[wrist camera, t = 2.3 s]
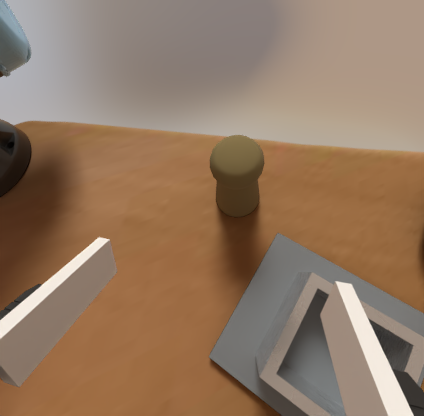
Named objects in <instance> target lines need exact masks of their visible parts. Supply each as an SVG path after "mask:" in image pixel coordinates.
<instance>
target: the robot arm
mask: <svg viewBox="0 0 424 416" xmlns="http://www.w3.org/2000/svg"><path fill="white" fill-rule="evenodd" d="M30 57H31V48H30V44H29V41H28V39H27V37H26V35H25V33H24V31H23V29H22V27H21V25H20V24H19V22H18V20H17V19H16V17H15V15H14V14H13V12H12V10H11V9H10V7H9V6H8V4H7V3H6V1H5V0H0V77H2V76H9V75H10V72H11V71H13V70H15V69H16V68H18V67H20V66H22V65H23V64H25V63H27V62H28V61H29V59H30ZM30 154H31V145H30V141H29V139H28V137H27V136H26V134H25V133H24V132H22V131H21V130H19V129H18V128H16V127H15V126H13V125H12V124H10V123H8V122H6V121H4V120H1V119H0V196H2V195H3V194H5V193H6V192H7V191H8V190H10V189H11V188H12V187H13V186H14V185H15V184H16V183H17V181H18V180H19V179H20V178H21V176H22V175H23V173H24V171H25V170H26V167H27V165H28V163H29V159H30ZM116 273H117V268H116V264H115V259H114V255H113V251H112V247H111V243H110V239H105V238H98V239H96V240H95V241H94V242H93V243H92V244H91V245H89V246H88V247H87V248H86V249H85V250H83V251H82V252H81V253H80V254H79V255H77V256H76V257H75V258H74V259H73V260H71V261H70V262H69V263H68V264H67V265H66V266H64V267H63V268H62V269H61V270H60V271H58V272H57V273H56V274H55V275H54V276H52V277H51V278H50V279H49V280H48V281H46V282H45V283H44V284H43V285H41V284H38V285H36V286H34V287H32V288H30V289H29V290H27V291H25V292H24V293H23V294H22V295H20V296H19V297H18V298H17V299H15V300H14V302H12V303H10V304H9V305H8V306H7V307H5V309H4V310H2V311H0V378H1V379H2V380H3V381H4V382H5V383H8V384H11V385H14V386H17V387H20V386H21V385H22V384H23V382H24V381H25V380H26V379H27V378H28V377H29V375H30V374H31V373H32V372H33V371H34V369H35V368H36V367H37V366H38V365H39V364H40V362H41V361H42V360H43V359H44V358H45V357H46V355H47V354H48V353H49V352H50V351H51V349H52V348H53V347H54V346H55V345H56V344H57V342H58V341H59V340H60V339H61V338H62V336H63V335H64V334H65V333H66V332H67V331H68V329H69V328H70V327H71V326H72V325H73V323H74V322H75V321H76V320H77V319H78V318H79V316H80V315H81V314H82V313H83V312H84V311H85V309H86V308H87V307H88V306H89V305H90V303H91V302H92V301H93V300H94V299H95V298H96V296H97V295H98V294H99V293H100V292H101V290H102V289H103V288H104V287H105V286H106V285H107V283H108V282H109V281H110V280H111V279H112V278H113V276H114V275H115V274H116ZM320 317H321V320H322V324H323V328H324V332H325V336H326V340H327V344H328V347H329V351H330V355H331V359H332V363H333V367H334V371H335V374H336V378H337V382H338V386H339V390H340V394H341V398H342V401H343V405H344V409H345V413H346V416H424V392H423V390H422V389H421V388H420V387H419V386H418V384H417V383H416V382H415V381H414V380H413V379H412V377H411V376H410V375H409V374H408V373H407V372H403V371H399V370H395V369H391V366H390V364H389V362H388V360H387V358H386V356H385V354H384V352H383V350H382V347H381V345H380V343H379V341H378V339H377V337H376V335H375V333H374V330H373V328H372V326H371V324H370V322H369V320H368V318H367V316H366V314H365V311H364V309H363V307H362V305H361V303H360V301H359V299H358V297H357V295H356V292H355V290H354V288H353V286H352V284H349V283H343V282H338V281H335V283H334V285H333V287H332V290H331V292H330V294H329V296H328V299H327V301H326V303H325V305H324V307H323V310H322V312H321V314H320Z"/></svg>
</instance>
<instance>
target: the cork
mask: <svg viewBox="0 0 424 416" xmlns="http://www.w3.org/2000/svg"><path fill="white" fill-rule="evenodd" d="M263 166H264V155H263V152H262V150H261V148H260V146H259V145H258V144H257V143H256V142H255V141H254V140H252V139H250V138H248V137H246V136H242V135H234V136H229V137H227V138H224V139H223V140H222V141H220V142H219V143H218V144H217V145H216V146H215V148H214V149H213V151H212V154H211V157H210V169H211V171H212V174H213V177H214V178H215V179H216V180H217V186H216V202H217V204H218V207H219V208H220V209H221V211H222V212H224V213H225V214H227V215H229V216H233V217H243V216H246V215H248V214H250V213H251V212H252V211H254V210H255V208H256V207H257V205H258V202H259V188H258V178H259V176H260V175H261V174H262V170H263Z"/></svg>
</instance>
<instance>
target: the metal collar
mask: <svg viewBox="0 0 424 416" xmlns="http://www.w3.org/2000/svg"><path fill="white" fill-rule="evenodd" d="M332 287H333V284H332V283H330V282H328V281H327V280H325V279H323V278H321V277H320V276H318V275H316V274H315V273H313V272H298V273H297V275H296V277H295V279H294V281H293V283H292V284H291V286H290V288H289V290H288V292H287V294H286V296H285V298H284V300H283V302H282V304H281V306H280V308H279V310H278V312H277V314H276V316H275V318H274V319H273V321H272V323H271V325H270V327H269V329H268V331H267V333H266V335H265V337H264V339H263V341H262V343H261V345H260V347H259V349H258V351H257V353H256V355H255V357H256V362H257V367H258V372H259V377H260V378H261V379H262V380H264V381H265V382H266V383H268V384H269V385H270V386H272V387H273V388H274V389H275V390H277V391H278V392H279V393H281V394H282V395H283V396H284V397H286V398H287V399H288V400H290V401H291V402H292V403H294V404H295V405H296V406H297V407H299V408H300V409H301V410H303V411H304V412H305V413H306V414H308V415H309V416H346V413H345V409H344V407H342V406H341V405H340V404H338V403H337V402H336V401H334V400H333V399H331V398H330V397H329V396H327V395H326V394H325V393H323V392H322V391H321V390H319V389H318V388H316V387H315V386H314V385H312V384H311V383H310V382H308V381H307V380H305V379H304V378H303V377H301V376H300V375H299V374H297V373H296V372H295V371H293V370H292V369H290V368H289V367H288V366H286V365H285V364H284V363H282V361H283V359H284V357H285V355H286V353H287V350H288V348H289V346H290V344H291V342H292V340H293V338H294V336H295V334H296V332H297V330H298V328H299V326H300V324H301V322H302V320H303V317H304V315H305V313H306V311H307V309H308V307H309V305H310V303H311V301H312V299H313V297H314V295H315V293H316V294H318V295H319V296H321V297H323V298H324V299H326V300H327V299H328V296H329V294H330V292H331V290H332ZM359 301H360V303H361V305H362V307H363V309H364V311H365V314H366V316H367V318H368V320H369V322H370V324H371V326H372V328H374V329H375V332H374V333H375V335H376V337H377V339H378V341H379V343H380V345H381V347H382V350H383V352H384V354H385V356H386V358H387V360H388V362H389V364H390V366H391V369H395V370H399V371H403V372H407V373H408V374H409V375H410V376H411V377H412V379H413V380H414V381H415V382H416V383H417V382H418V379H419V377H420V374H421V371H422V368H423V365H424V337H423V336H421V335H419V334H417V333H416V332H414V331H412V330H411V329H409V328H407V327H405V326H404V325H402V324H400V323H399V322H397V321H395V320H393V319H392V318H390V317H388V316H387V315H385V314H383V313H381V312H380V311H378V310H376V309H375V308H373V307H371V306H369V305H368V304H366V303H364V302H363V301H361V300H359Z"/></svg>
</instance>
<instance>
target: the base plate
mask: <svg viewBox="0 0 424 416" xmlns="http://www.w3.org/2000/svg"><path fill="white" fill-rule="evenodd" d="M298 272H313V273H315V274H316V275H318V276H320V277H321V278H323V279H325V280H327V281H328V282H330V283H332V284H333V285H334V283H335V281H338V282H343V283H349V284H352V286H353V288H354V290H355V292H356V295H357V297H358V299H359V300H361V301H363V302H364V303H366V304H368V305H369V306H371V307H373V308H375V309H376V310H378V311H380V312H381V313H383V314H385V315H387V316H388V317H390V318H392V319H393V320H395V321H397V322H399V323H400V324H402V325H404V326H405V327H407V328H409V329H411V330H412V331H414V332H416V333H417V334H419V335H421V336H423V337H424V314H423V313H422V312H420V311H418V310H416V309H414V308H413V307H411V306H409V305H407V304H405V303H404V302H402V301H400V300H398V299H396V298H395V297H393V296H391V295H389V294H387V293H386V292H384V291H382V290H380V289H378V288H377V287H375V286H373V285H371V284H369V283H368V282H366V281H364V280H362V279H360V278H359V277H357V276H355V275H353V274H351V273H350V272H348V271H346V270H344V269H342V268H341V267H339V266H337V265H335V264H333V263H332V262H330V261H328V260H326V259H324V258H323V257H321V256H319V255H317V254H315V253H314V252H312V251H310V250H308V249H306V248H305V247H303V246H301V245H299V244H297V243H296V242H294V241H292V240H290V239H288V238H287V237H285V236H283V235H281V234H279V233H278V234H277V235H276V237H275V238H274V240H273V242H272V244H271V246H270V247H269V249H268V251H267V253H266V255H265V256H264V258H263V260H262V262H261V263H260V265H259V267H258V269H257V271H256V272H255V274H254V276H253V278H252V280H251V281H250V283H249V285H248V287H247V289H246V290H245V292H244V294H243V296H242V298H241V299H240V301H239V303H238V305H237V306H236V308H235V310H234V312H233V314H232V315H231V317H230V319H229V321H228V323H227V324H226V326H225V328H224V330H223V332H222V333H221V335H220V337H219V339H218V341H217V342H216V344H215V346H214V348H213V350H212V351H211V353H210V356H209V357H210V358H211V359H212V360H213V361H215V362H216V363H217V364H218V365H220V366H221V367H222V368H223V369H224V370H226V371H227V372H228V373H229V374H231V375H232V376H233V377H234V378H236V379H237V380H238V381H239V382H241V383H242V384H243V385H244V386H246V387H247V388H248V389H249V390H251V391H252V392H253V393H254V394H256V395H257V396H258V397H259V398H261V399H262V400H263V401H264V402H266V403H267V404H268V405H269V406H271V407H272V408H273V409H274V410H276V411H277V412H278V413H279V414H281V415H282V416H309V415H308V414H306V413H305V412H304V411H303V410H301V409H300V408H299V407H297V406H296V405H295V404H294V403H292V402H291V401H290V400H288V399H287V398H286V397H284V396H283V395H282V394H281V393H279V392H278V391H277V390H275V389H274V388H273V387H272V386H270V385H269V384H268V383H266V382H265V381H264V380H262V379H261V378H260V377H259V372H258V367H257V362H256V357H255V355H256V353H257V351H258V349H259V347H260V345H261V343H262V341H263V339H264V337H265V335H266V333H267V331H268V329H269V327H270V325H271V323H272V321H273V319H274V318H275V316H276V314H277V312H278V310H279V308H280V306H281V304H282V302H283V300H284V298H285V296H286V294H287V292H288V290H289V288H290V286H291V284H292V283H293V281H294V279H295V277H296V275H297V273H298ZM326 301H327V300H326V299H324V298H323V297H321V296H319V295H318V294H316V293H315V295H314V297H313V299H312V301H311V303H310V305H309V307H308V309H307V311H306V313H305V315H304V317H303V320H302V322H301V324H300V326H299V328H298V330H297V332H296V334H295V336H294V338H293V340H292V342H291V344H290V346H289V348H288V350H287V353H286V355H285V357H284V359H283V361H282V363H284V364H285V365H286V366H288V367H289V368H290V369H292V370H293V371H295V372H296V373H297V374H299V375H300V376H301V377H303V378H304V379H305V380H307V381H308V382H310V383H311V384H312V385H314V386H315V387H316V388H318V389H319V390H321V391H322V392H323V393H325V394H326V395H327V396H329V397H330V398H331V399H333V400H334V401H336V402H337V403H338V404H340V405H341V406H342V407H344V405H343V401H342V398H341V394H340V390H339V386H338V382H337V378H336V374H335V371H334V367H333V363H332V359H331V355H330V351H329V347H328V344H327V340H326V336H325V332H324V328H323V324H322V320H321V317H320V314H321V312H322V310H323V307H324V305H325V303H326ZM373 330H374V332H375V329H374V328H373ZM423 378H424V365H423V368H422V371H421V374H420V377H419V379H418V382H417V384H418V386H419V387H421V384H422V381H423Z"/></svg>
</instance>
